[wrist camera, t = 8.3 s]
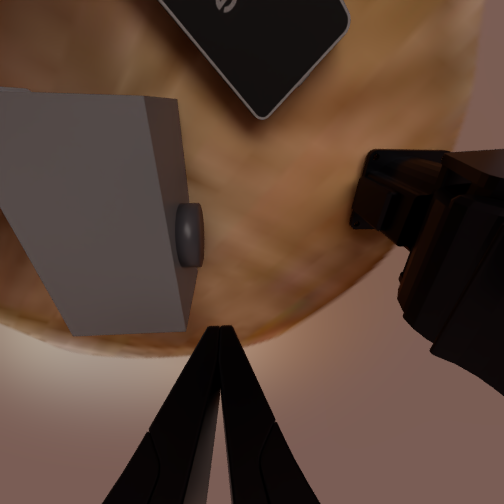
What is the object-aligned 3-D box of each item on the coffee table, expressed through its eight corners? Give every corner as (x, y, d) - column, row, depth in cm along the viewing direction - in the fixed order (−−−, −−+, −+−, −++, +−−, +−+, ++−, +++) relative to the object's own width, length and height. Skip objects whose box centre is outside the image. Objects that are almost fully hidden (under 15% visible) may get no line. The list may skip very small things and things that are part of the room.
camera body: (195, 99, 15) (174, 96, 10) (210, 271, 23) (203, 330, 17) (52, 95, 15) (-67, 89, 9) (115, 274, 22) (73, 336, 16)
